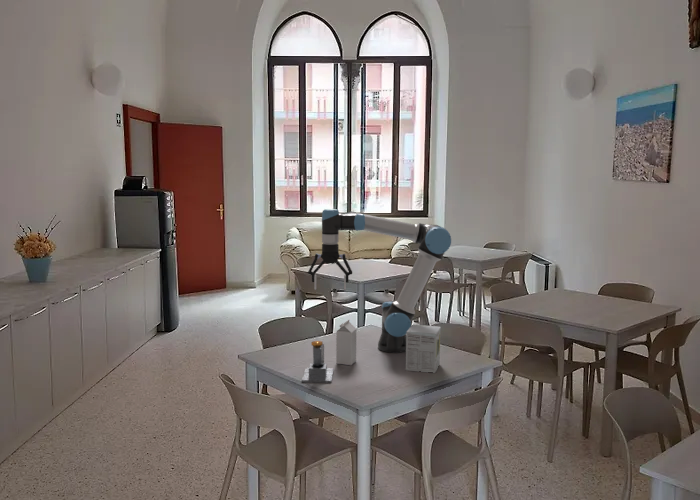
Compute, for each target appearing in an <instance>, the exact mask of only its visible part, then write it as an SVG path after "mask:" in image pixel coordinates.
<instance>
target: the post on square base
mask: <svg viewBox="0 0 700 500" xmlns="http://www.w3.org/2000/svg"><path fill="white" fill-rule="evenodd" d="M321 360H322V368H313V362H310V363H309V367H305V370H304V372H303V376H302V378H301V383H307V384H308V383H311V384H312V383H314V384H317V383H318V384H332V381H333V375H334V367H331V368H330V367H328V363H327V362H326V363H325V343H323V345H321Z"/></svg>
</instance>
